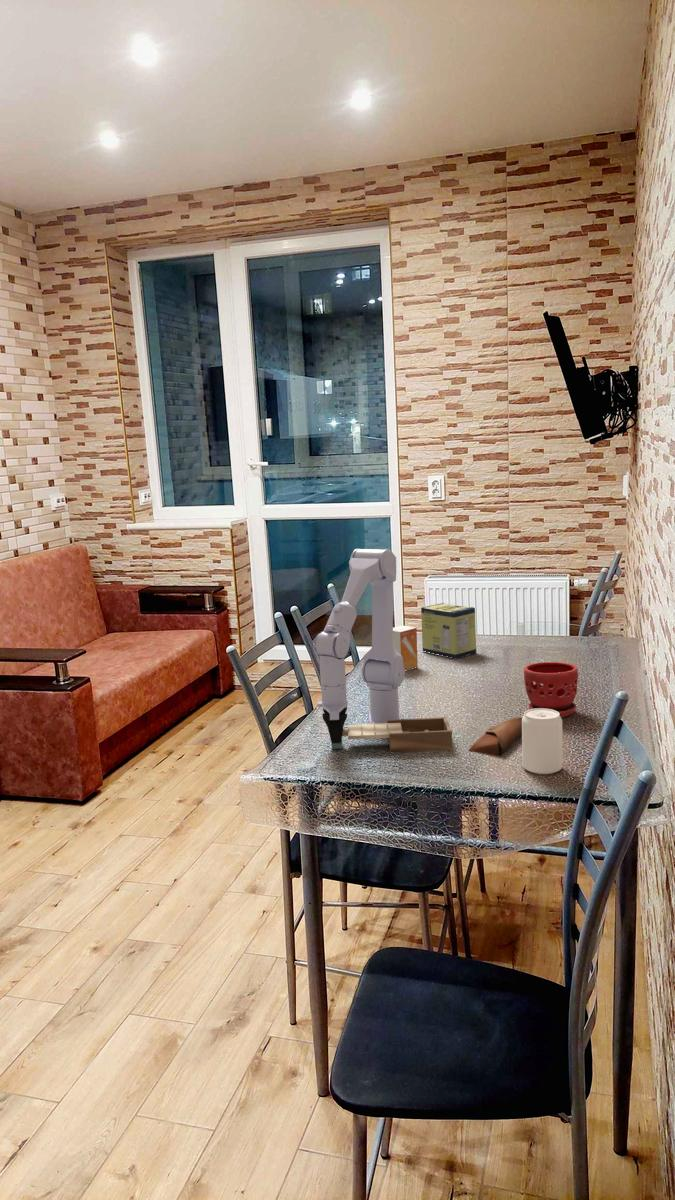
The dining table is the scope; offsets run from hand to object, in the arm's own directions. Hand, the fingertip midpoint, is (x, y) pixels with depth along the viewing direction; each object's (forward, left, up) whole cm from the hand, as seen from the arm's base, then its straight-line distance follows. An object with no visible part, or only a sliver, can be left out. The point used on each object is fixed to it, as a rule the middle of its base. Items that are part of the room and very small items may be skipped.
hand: (336, 740), depth 185 cm
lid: (0, +7, -1) cm, 7 cm away
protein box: (-85, +37, -2) cm, 93 cm away
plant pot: (-18, +54, -2) cm, 57 cm away
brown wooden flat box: (0, +19, -2) cm, 19 cm away
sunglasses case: (+1, +37, -2) cm, 37 cm away
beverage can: (+18, +43, -2) cm, 47 cm away
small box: (-67, +20, -2) cm, 70 cm away
